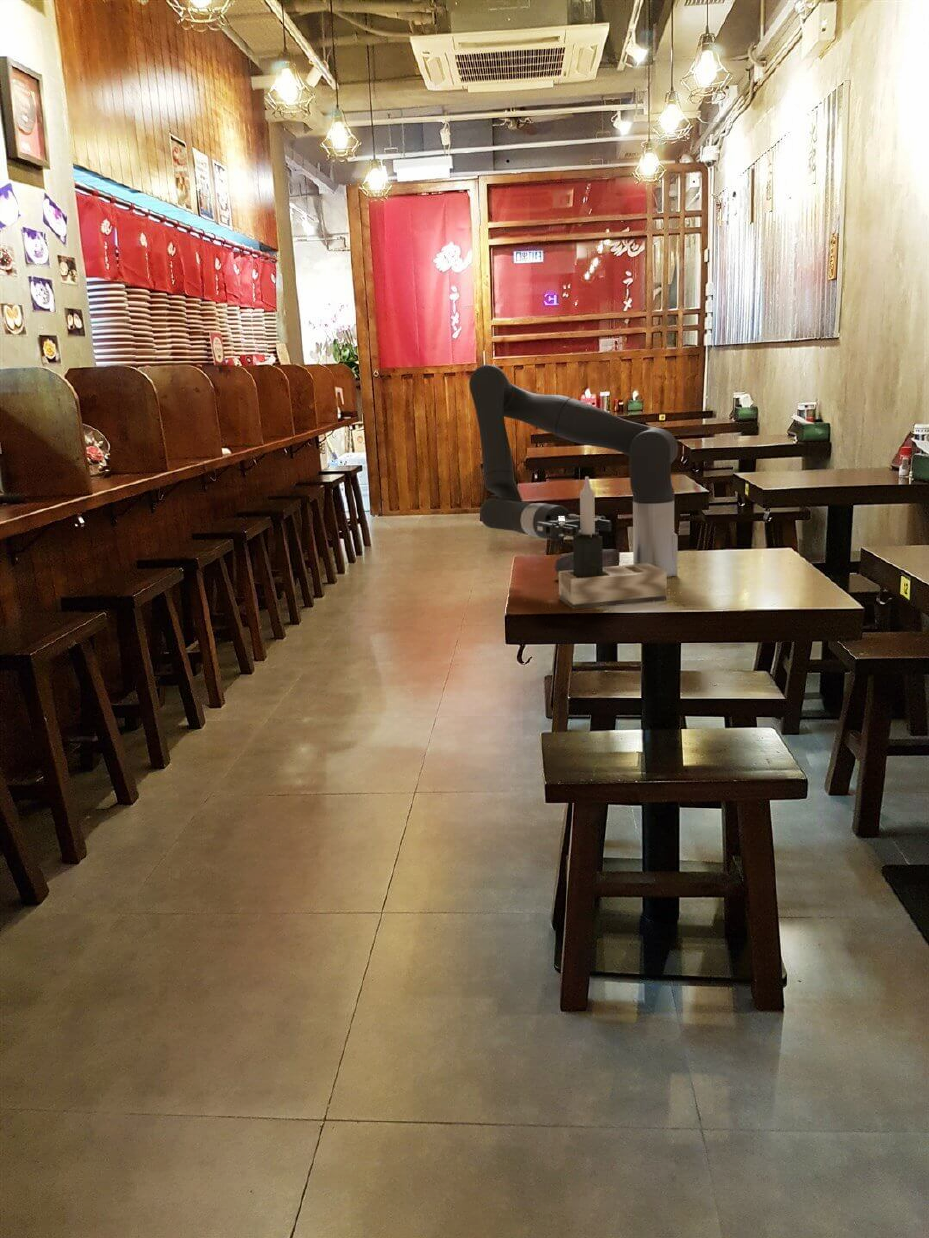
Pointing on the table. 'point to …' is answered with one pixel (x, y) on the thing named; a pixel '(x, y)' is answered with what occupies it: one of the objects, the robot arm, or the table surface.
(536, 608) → the table surface
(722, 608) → the table surface
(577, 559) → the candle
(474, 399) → the robot arm
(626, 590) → the stand
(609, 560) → the perforated stone tool
